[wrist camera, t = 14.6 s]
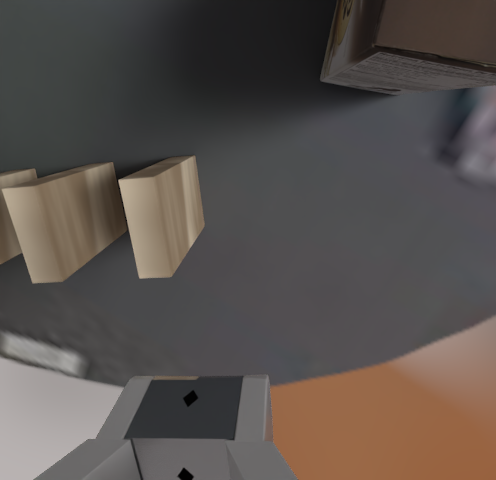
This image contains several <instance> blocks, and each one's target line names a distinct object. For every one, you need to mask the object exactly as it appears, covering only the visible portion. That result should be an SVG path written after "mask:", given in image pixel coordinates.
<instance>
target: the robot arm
mask: <svg viewBox="0 0 496 480" xmlns="http://www.w3.org/2000/svg"><path fill="white" fill-rule="evenodd" d="M34 480H298V479H297V477H296V476H295V474H294V473H293V471H292V470H291V468H290V467H289V465H288V464H287V463H286V461H285V459H284V458H283V456H282V455H281V453H280V452H279V450H278V449H277V447H276V446H275V444H274V443H273V426H272V410H271V397H270V385H269V377H268V375H267V374H266V375H245V376H200V377H199V376H156V377H155V376H134V377H133V378H131V379H130V380H129V381H128V383H127V384H126V386H125V388H124V390H123V391H122V393H121V395H120V397H119V398H118V400H117V402H116V404H115V405H114V407H113V409H112V411H111V412H110V414H109V416H108V418H107V419H106V421H105V423H104V425H103V426H102V428H101V430H100V432H99V433H98V435H97V437H96V439H88V440H86V441H85V442H84V443H82V444H81V445H80V446H78V447H77V448H76V449H74V450H73V451H71V452H70V453H69V454H67V455H66V456H65V457H63V458H62V459H61V460H59V461H58V462H57V463H55V464H54V465H53V466H51V467H50V468H49V469H47V470H46V471H45V472H43V473H42V474H40V475H39V476H38V477H37V478H35V479H34Z"/></svg>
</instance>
